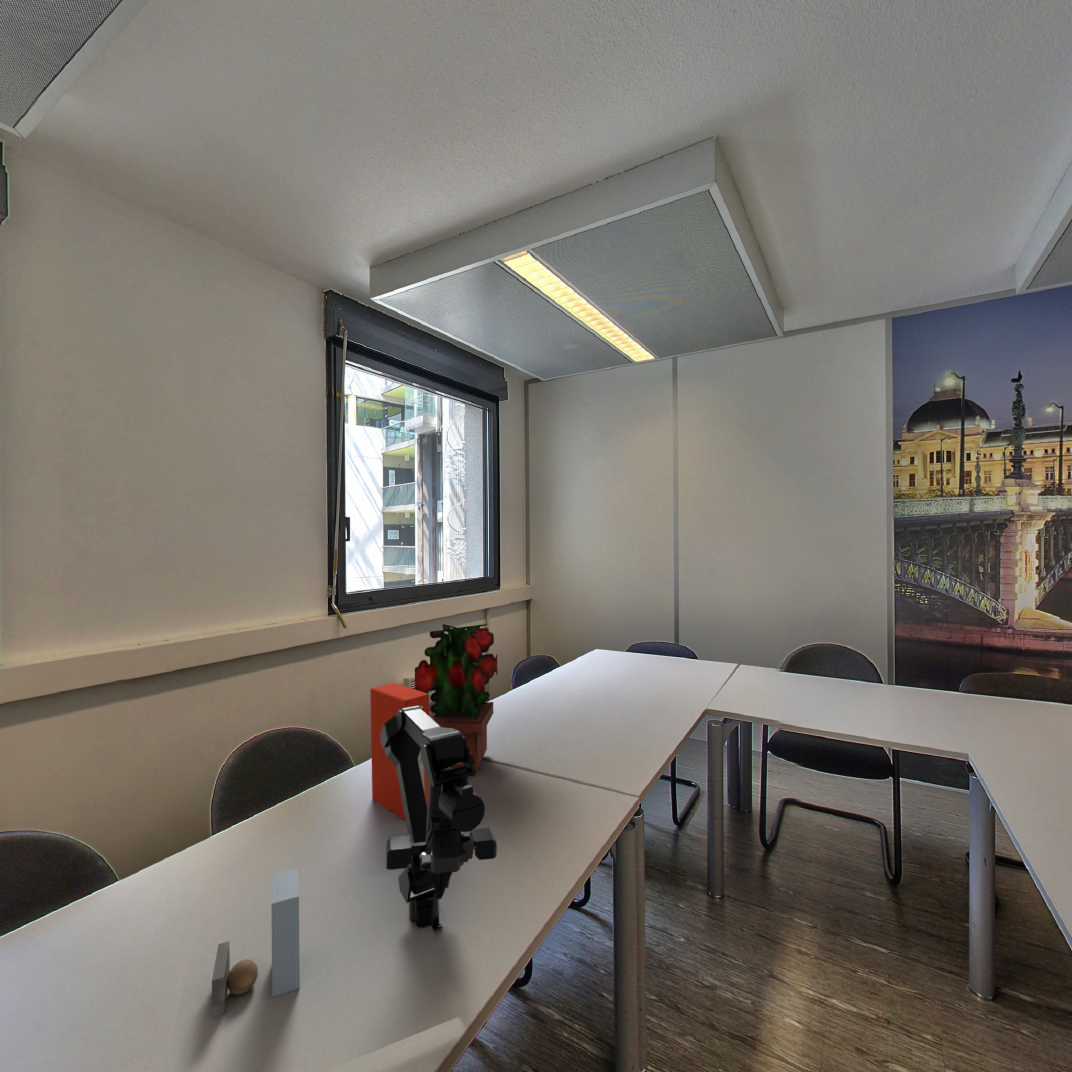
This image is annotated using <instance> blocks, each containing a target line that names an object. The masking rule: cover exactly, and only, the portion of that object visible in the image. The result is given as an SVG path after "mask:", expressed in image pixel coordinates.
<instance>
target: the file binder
mask: <svg viewBox="0 0 1072 1072" xmlns="http://www.w3.org/2000/svg"><path fill="white" fill-rule="evenodd" d="M417 705H418V706H422V707H423V709H424V712H425V713H426V714H427V715H428V716H429V710H430V694H429V693H428V694H427V693H424V692H421V691H418V690H415V688H411V687H408V686H406V685H402V684H401V683H396V682H390V683H387V684H383V685H379V686H375V687H372V688H370V735H371V737H370V739H371V740H370V741H371V742H370V743H371V744H370V745H371V749H370V750H371V796H372V797H371V798H372V800H373V801H374V802H376V803H378V804H379V805H381V806H382V807H384V808H385V809H387V810H388V811H390V812H392V813H393V814H395V815H397V816H398V817H400V818H401V819H403V820H404V821H405V815H404V809H403V804H402V798H401V792H400V787H399V781H398V775H397V770H396V767H395V766H394V765H393V764H392V763H391V762H390V761H389V760H388V759H387V757H386V754H385V749H384V748H383V747H382V745H381V740H380V734H381V730H382V728H383V726H384V724H385V723H386V722H387V721H388V720H390V719H391V718H392V717H394V716H395V715H396V713H397V711H398V710H400V709H401V708H406V707H412V706H417ZM420 752H421V751H420ZM418 763H419V768H420V773H421V778H422V783H423V788H424V793H425V798H426V803H427V808H428V791H429V781H428V778H427V775H426V772H425V769H424V766H423V763H422V760H421V753H420V754H419V757H418Z"/></svg>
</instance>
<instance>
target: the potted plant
mask: <svg viewBox="0 0 1072 1072" xmlns="http://www.w3.org/2000/svg"><path fill="white" fill-rule="evenodd" d="M487 625H488V623H485V624H484V623H482V624H477V625H469V626H462V627H457V626H453V625H448V624H446V623H445V624H444V623H442V629H439V630H438V629H437V630H431V631H429V637H430V638H431V639H438V638H439V639H438V640H437V641H436V642H435V645H434V646H428V647H426V649H424V653H423V654H424V655H425V657H429V663H428V661H427V660H426V659H421V660H420V661H419V663H418V666H416V667H414V689H415V690H418V691H421V692H424V693H427V694H429V692H431V691H434V692H433V693H431V694H430V696H429V700H431V702H435V703H433V704H432V705H431V706H430V708H429V717H430V718H431V719H433V720H434V721H435V722H436V723H437V724H438V725H439V726H440V727H442V728H453V729H455V730H458V731H460V732H461V734H462V735H463V736H464V737H465V739H466V741H467V743H468V745H469V748H470V751H471V754H472V757H473V759H474V762H475V765H474V770H478V769H479V767H480V766H481V763H482V760H483V758H484V756H485V754H486V753H487V750H488V724H489V722H490V720H491V718H492V717H493V715H494V701H488V699H489V698H490V695H491V694H490V693H489V691H486V685H487V684H488V683H489V682H490V679H491V678H493V677H494V674H495V675H498V654H496V655H495V656H494V654H493V653H487V652H488V651H489V650H490V647H491V646H493V645H494V641H495V636H494V633H493V632H490V629H489V628H488V627H485V626H487ZM481 627H482V628H481ZM445 632H446V633H445ZM483 653H486V654H483ZM463 766H465V765H464V763H463V764H460V765H456V766H452V767H451V768H452V769H455V768H459V767H463Z"/></svg>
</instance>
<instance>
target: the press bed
mask: <svg viewBox="0 0 1072 1072" xmlns="http://www.w3.org/2000/svg"><path fill="white" fill-rule="evenodd" d="M230 957H231V956H230V940H229V941H225V942H224V941H223V942H221V943H219V944H218V945H217V950H216V957H215V962H214V967H213V972H212V980H211V1018H212V1019H215V1018H217V1017H221V1016H223V1015H225V1013H226V1005H227V996H228V991H229V989H228V987H227V978H228V975H229V973H230V971H231V969H230V966H231V965H230V961H231V960H230Z"/></svg>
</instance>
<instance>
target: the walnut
mask: <svg viewBox="0 0 1072 1072" xmlns="http://www.w3.org/2000/svg"><path fill="white" fill-rule="evenodd" d="M258 975H259V970H258V966H257V964H256V962H255V961H254V960H252V959H243V960H240V961H238V962H237V963H236V964H234V965H233V966H232V968H231V969H230V973H229V975H228V978H227V987H228V991H229V992H230V993H231V994H233V995H235V996H236V995H238V996H239V995H243V994H245V993H247V992H249V990H251V989H252V987H253V986H254V985H255V983H256V981H257V979H258Z"/></svg>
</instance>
